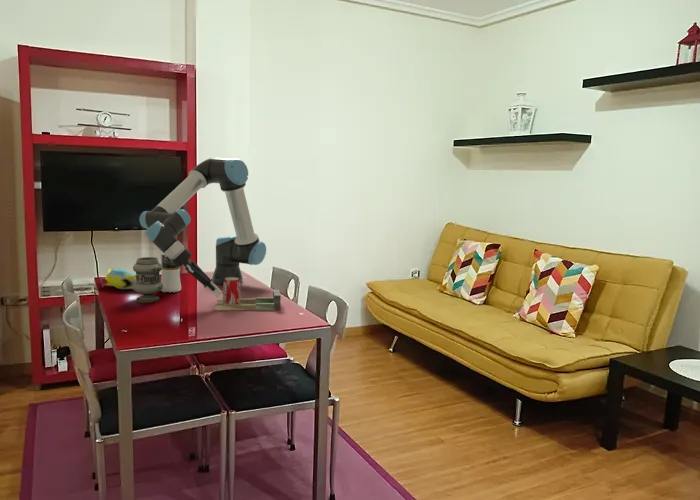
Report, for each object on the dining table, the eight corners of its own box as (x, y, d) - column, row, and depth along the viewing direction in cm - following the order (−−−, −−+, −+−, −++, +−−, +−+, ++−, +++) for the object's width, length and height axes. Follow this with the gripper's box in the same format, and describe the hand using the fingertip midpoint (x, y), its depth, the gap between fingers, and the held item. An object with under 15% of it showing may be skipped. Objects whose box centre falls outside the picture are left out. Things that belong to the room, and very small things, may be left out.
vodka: (181, 288, 266) (181, 225, 262) (180, 292, 258) (180, 227, 254) (160, 288, 264) (160, 224, 260) (159, 293, 255) (159, 227, 251)
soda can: (236, 309, 232) (237, 280, 230) (220, 307, 233) (220, 279, 231) (242, 305, 239) (243, 277, 237) (226, 304, 240) (226, 276, 238)
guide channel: (217, 303, 241) (217, 289, 240) (278, 303, 245) (278, 289, 245) (215, 310, 229) (215, 295, 228) (280, 309, 234) (280, 295, 233)
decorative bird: (131, 294, 250) (131, 274, 249) (85, 285, 264) (84, 266, 263) (155, 289, 262) (155, 270, 261) (109, 281, 276) (109, 262, 275)
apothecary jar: (132, 297, 245) (132, 256, 243) (161, 296, 250) (161, 255, 247) (133, 303, 234) (133, 260, 232) (164, 302, 239) (164, 260, 236)
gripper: (173, 258, 235) (214, 297, 240) (169, 263, 222) (212, 304, 227) (187, 245, 235) (227, 285, 240) (183, 250, 222) (226, 292, 228)
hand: (220, 294), depth 234 cm, fingers closed
